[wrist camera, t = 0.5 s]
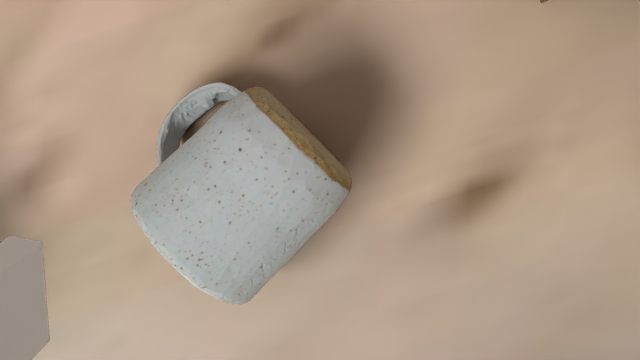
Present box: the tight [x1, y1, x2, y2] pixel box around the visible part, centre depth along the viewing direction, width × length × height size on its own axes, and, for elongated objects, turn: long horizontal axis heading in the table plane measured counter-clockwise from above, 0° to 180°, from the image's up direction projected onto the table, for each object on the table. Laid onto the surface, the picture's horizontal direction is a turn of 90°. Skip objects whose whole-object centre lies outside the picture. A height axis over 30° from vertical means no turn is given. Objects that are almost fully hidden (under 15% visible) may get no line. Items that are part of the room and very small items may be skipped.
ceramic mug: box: [131, 82, 352, 304], centre depth 26 cm, size 11×8×8 cm
